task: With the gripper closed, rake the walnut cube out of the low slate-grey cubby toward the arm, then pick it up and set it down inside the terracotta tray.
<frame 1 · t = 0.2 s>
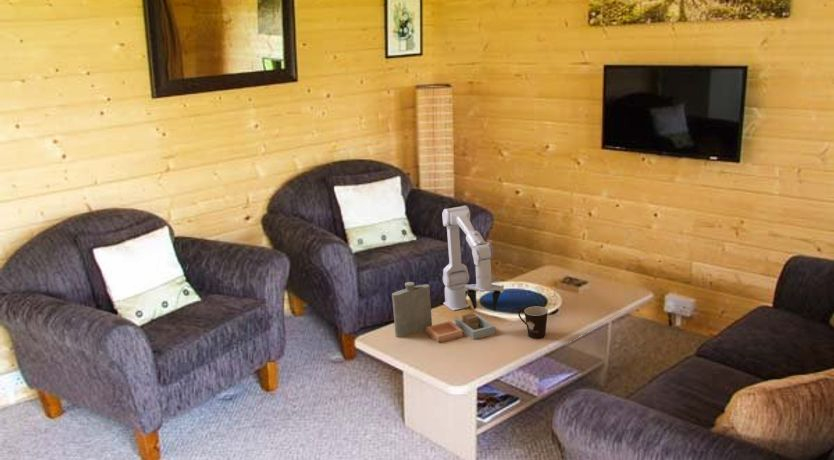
hand: (485, 308, 291), 9 cm above the table, tool pointing down, fingers open, 7 cm apart
walnut cube: (470, 326, 300), on the table
coffee mug: (534, 334, 289), on the table
tray: (444, 334, 294), on the table
hip flask: (413, 331, 299), on the table
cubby: (474, 329, 297), on the table
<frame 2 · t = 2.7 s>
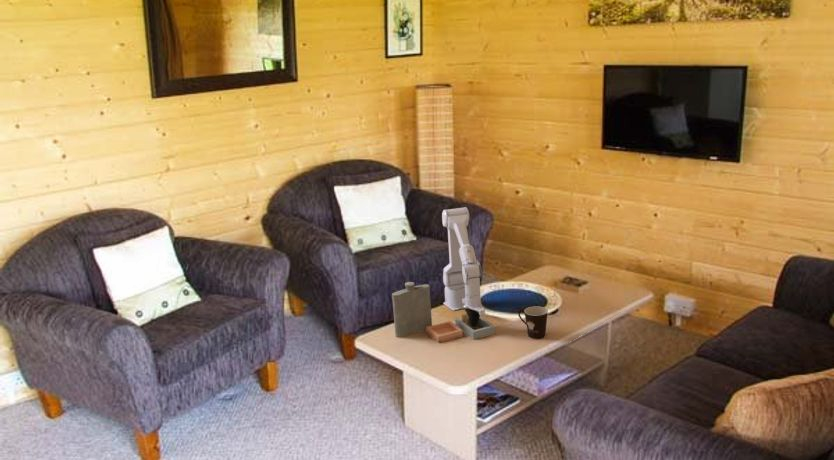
hand: (474, 325, 296), 1 cm above the table, tool pointing down, fingers closed
walnut cube: (470, 326, 300), on the table, touching gripper
everything else where it was.
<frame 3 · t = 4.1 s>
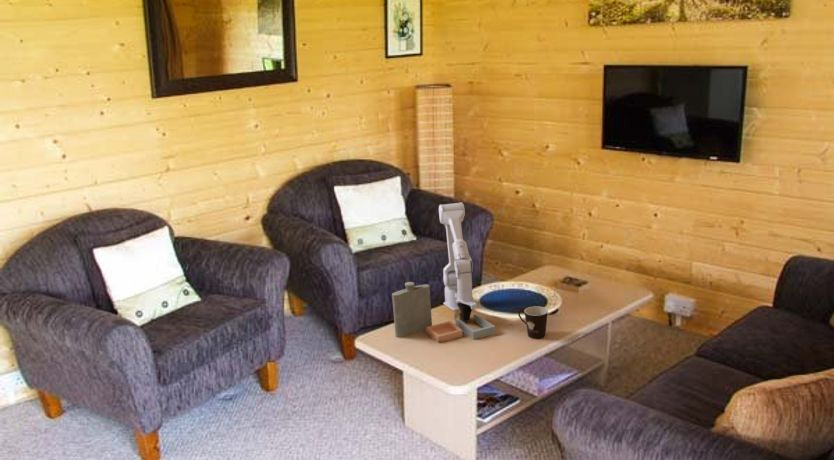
hand: (466, 320, 302), 1 cm above the table, tool pointing down, fingers closed
walnut cube: (462, 320, 305), on the table, touching gripper
everything else where it was.
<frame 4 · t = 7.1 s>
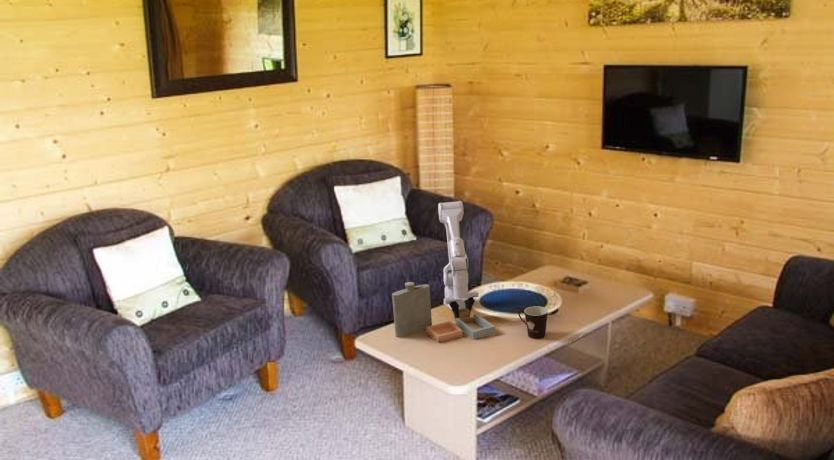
hand: (462, 317, 305), 1 cm above the table, tool pointing down, fingers closed on walnut cube, 4 cm apart
walnut cube: (462, 320, 305), on the table, touching gripper
everything else where it was.
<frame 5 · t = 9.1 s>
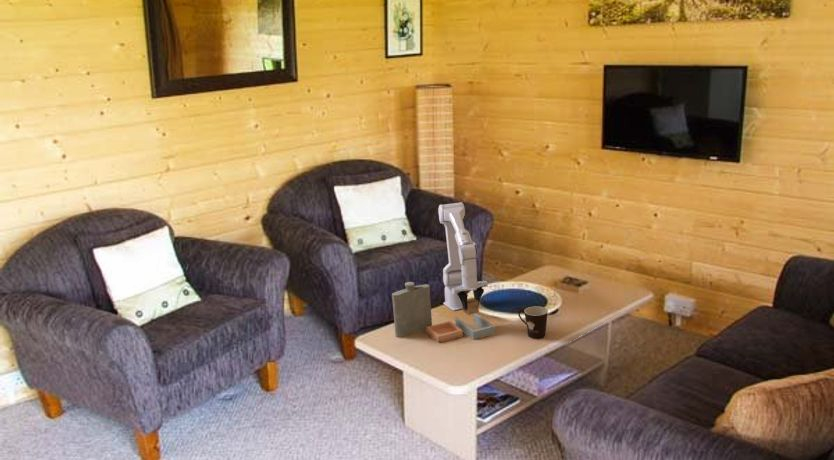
hand: (470, 307, 296), 8 cm above the table, tool pointing down, fingers closed on walnut cube, 4 cm apart
walnut cube: (470, 311, 297), point 7 cm above the table, touching gripper
everything else where it was.
when the fingers open (4 cm above the table, at t = 11.2 s): walnut cube stays where it is, resting on tray.
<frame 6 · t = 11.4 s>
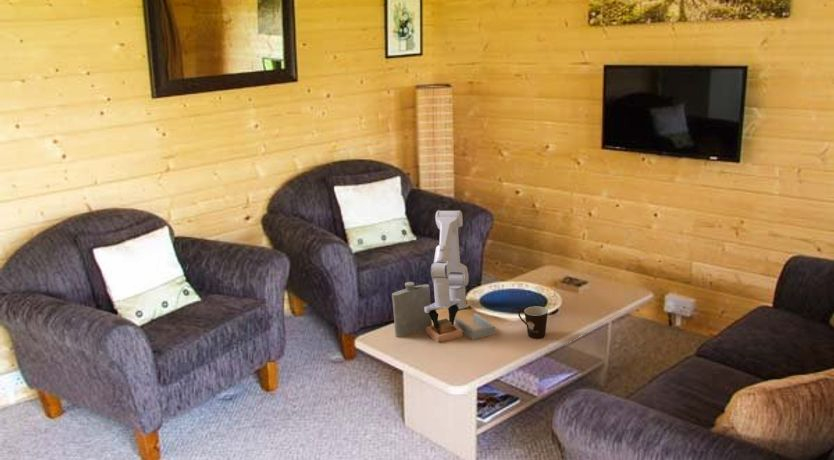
hand: (443, 325, 293), 4 cm above the table, tool pointing down, fingers open, 6 cm apart
walnut cube: (444, 332, 294), point 1 cm above the table, touching tray
everything else where it was.
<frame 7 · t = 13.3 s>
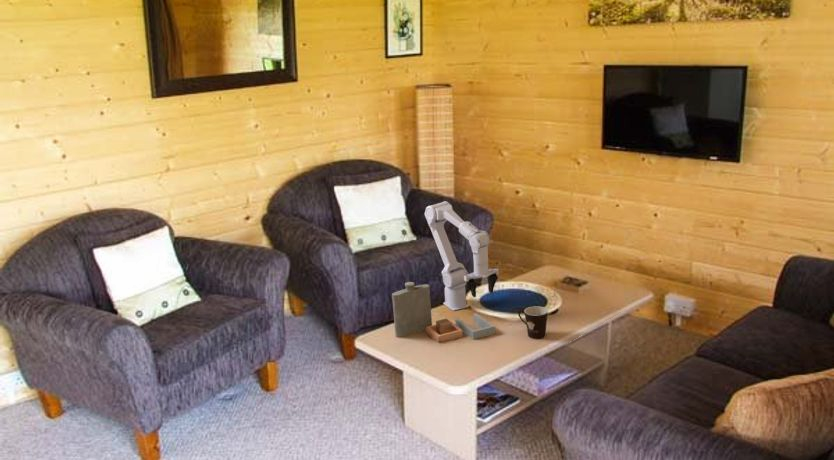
hand: (482, 294, 305), 9 cm above the table, tool pointing down, fingers open, 7 cm apart
nothing on the table moved.
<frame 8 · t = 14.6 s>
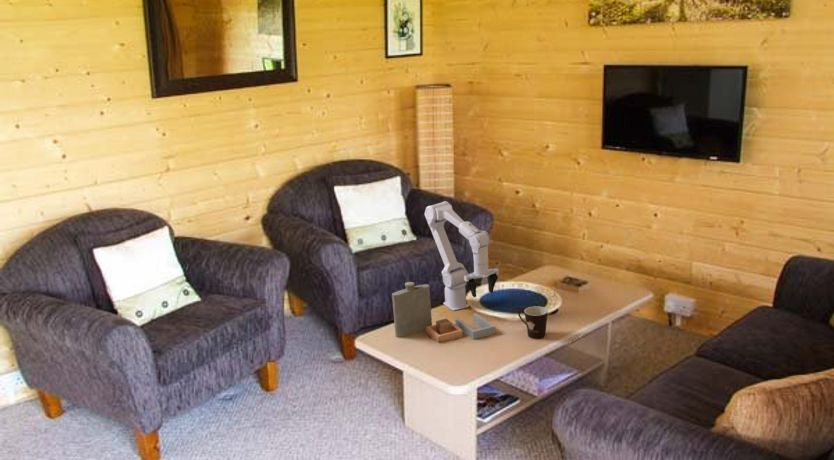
hand: (482, 294, 305), 9 cm above the table, tool pointing down, fingers open, 7 cm apart
nothing on the table moved.
at the end: walnut cube 0.1 cm off-centre on the tray, point 0.8 cm above the tray's base; walnut cube tilted 0°; the gripper is holding nothing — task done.
